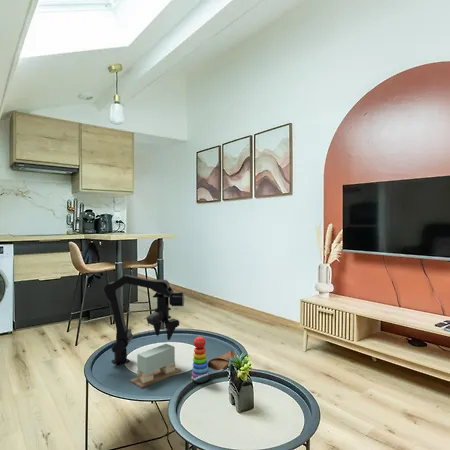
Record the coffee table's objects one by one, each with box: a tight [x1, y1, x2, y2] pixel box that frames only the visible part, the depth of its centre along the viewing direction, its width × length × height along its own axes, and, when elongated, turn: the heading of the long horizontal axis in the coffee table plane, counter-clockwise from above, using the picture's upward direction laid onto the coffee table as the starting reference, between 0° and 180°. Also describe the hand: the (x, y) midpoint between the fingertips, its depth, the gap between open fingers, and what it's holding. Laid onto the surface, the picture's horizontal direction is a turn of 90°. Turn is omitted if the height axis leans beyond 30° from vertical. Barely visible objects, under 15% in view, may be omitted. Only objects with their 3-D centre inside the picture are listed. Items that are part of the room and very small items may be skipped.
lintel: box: [136, 343, 176, 374], centre depth 148 cm, size 6×16×7 cm, turn 140°
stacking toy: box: [191, 336, 210, 380], centre depth 144 cm, size 8×8×19 cm
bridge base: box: [129, 361, 182, 389], centre depth 148 cm, size 9×21×5 cm, turn 137°
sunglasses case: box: [207, 350, 237, 371], centre depth 161 cm, size 18×7×7 cm
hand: (163, 337), depth 162 cm, fingers open, 9 cm apart
